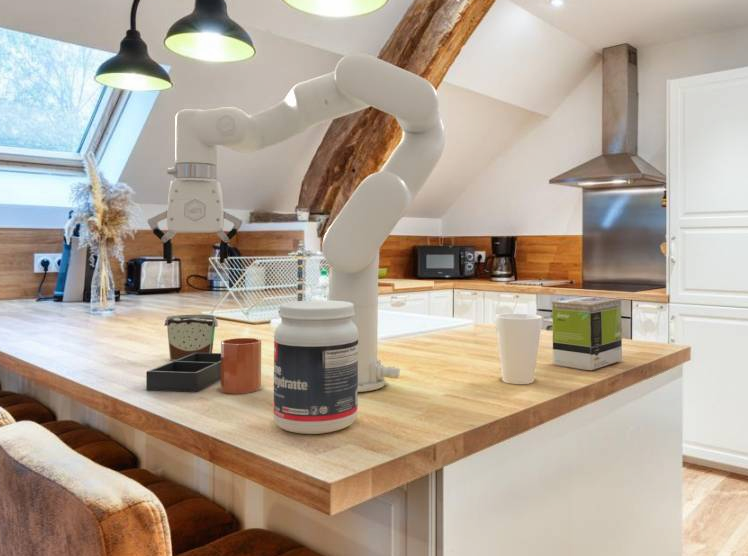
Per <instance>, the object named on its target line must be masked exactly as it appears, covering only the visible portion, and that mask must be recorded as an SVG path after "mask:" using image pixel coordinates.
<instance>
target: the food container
mask: <svg viewBox="0 0 748 556" xmlns="http://www.w3.org/2000/svg"><path fill="white" fill-rule="evenodd" d="M164 327H166V329H167V340H168V341H167V342H168V350H169V361H170V362H172V361H175V360H177V359H180V358H183V357H185V356H188V355H190V354H193V353H213V351H214V350H213V349H214V340H215V332H216V331H215V330H216V327H219V321H218V319H217V317H216V315H212V314H177V315H170V316H166V319H165V320H164Z"/></svg>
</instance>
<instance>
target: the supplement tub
mask: <svg viewBox="0 0 748 556" xmlns="http://www.w3.org/2000/svg"><path fill="white" fill-rule="evenodd" d="M354 315H355V313H354V304H353V303H350V302H344V301H329V299H328V300H325V299H324V300H316V299H315V300H295V301H287V302H283V303H281V304H279V313H278V316H279V317H280V318H281V322H280V323H279V324H278V325H277V326H276V328H275V330H274V334H273V404H272V405H273V410H272V411H273V413H272V417H273V421H274V422H275V424H276V425H277V426H278V427H279V428H280V429H282V430H284V431H287V432H291V433H296V434H301V435H321V434H327V433H333V432H337V431H340V430H343V429H345V428H348V427H350V426H351V425H352V424H353V423H354V422H355V421H356V420H357V417H358V404H359V403H358V402H359V400H358V397H359V395H358V393H359V392H358V336H359V334H358V329H357V327H356V325H355V324H354V323H353V322H352V316H354Z"/></svg>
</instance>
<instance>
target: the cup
mask: <svg viewBox="0 0 748 556" xmlns="http://www.w3.org/2000/svg"><path fill="white" fill-rule="evenodd" d="M220 353H221V379H220V391H221V392H222V393H225V394H234V395H236V394H237V395H243V394H250V393H254V392H257V391H259V390H261V388H262V339H260V338H254V337H239V338H238V337H235V338H228V339H224V340H221V342H220Z"/></svg>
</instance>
